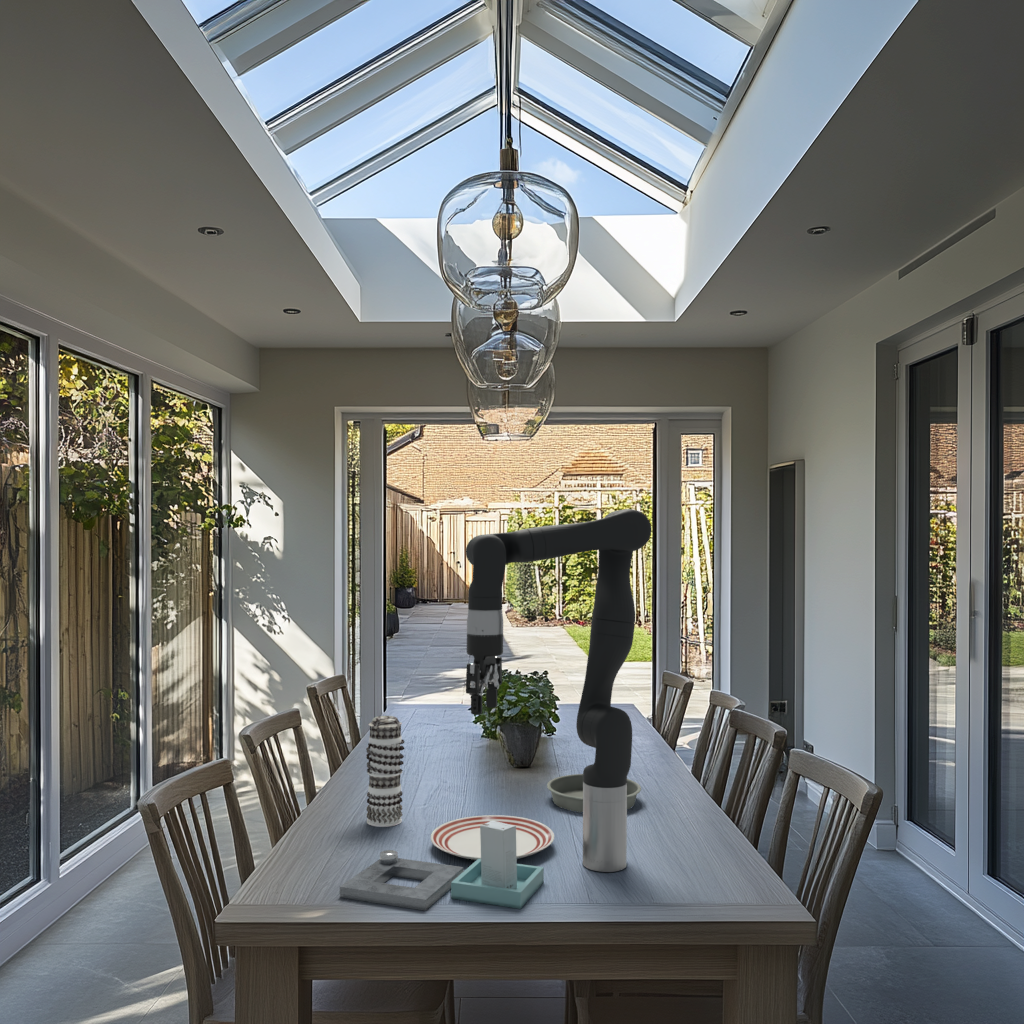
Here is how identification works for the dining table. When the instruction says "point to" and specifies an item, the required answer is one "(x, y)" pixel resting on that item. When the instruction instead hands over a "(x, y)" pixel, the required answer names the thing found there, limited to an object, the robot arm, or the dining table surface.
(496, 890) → the tray
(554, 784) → the cake pan
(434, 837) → the dinner plate
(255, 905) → the dining table surface
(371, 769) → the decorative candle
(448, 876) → the socket block
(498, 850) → the skincare box
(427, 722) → the dining table surface
